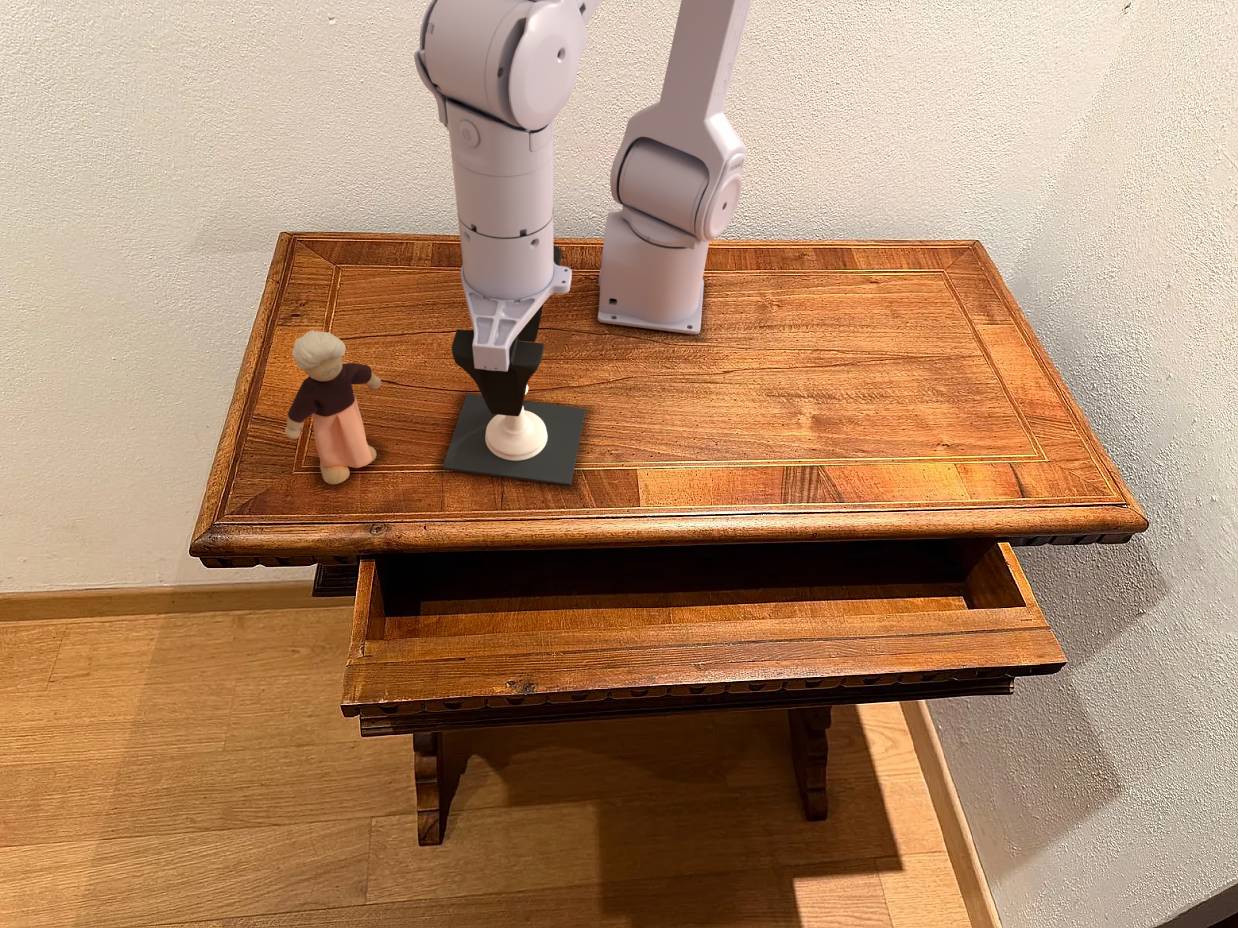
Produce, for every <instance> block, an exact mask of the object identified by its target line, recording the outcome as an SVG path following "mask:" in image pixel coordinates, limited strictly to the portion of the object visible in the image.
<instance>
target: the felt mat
mask: <svg viewBox="0 0 1238 928" xmlns="http://www.w3.org/2000/svg"><path fill="white" fill-rule="evenodd" d="M523 408H524V410H526V411H529V412H532V413H534V414H535V415H537V416H538V417H539V418H540V419H541V420H542V421H543V422H544V424H545V427H546V431H547V442H546V445H545V447H544V448H543V449H542V450H541V451H540V452H539V453H538V454H537V455H535V456H533V457H531V458H529V459H525V460H519V461H513V460H506V459H503V458H500V457H498V456H496V455H495V454H494V453H492V452H491V451H490V449H489V448H488V446H487V444H486V441H485V435H486V428H487V425H488V424H489V422H490V421H491V420H492V419H493V418H494V417H495V416H496V415H497V414H491V412H490V411H489V409H488V407H487V405H486V403H485V401H484V398H483V396H482V394H474V393H466V395H465V398H464V400H463V404H462V407H461V410H460V412H459V416H458V419H457V422H456V425H455V428H454V431H453V433H452V437H451V439H450V443H449V446H448V449H447V452H446V455H445V457H444V461H443V465H442V470H444V471H451V472H452V471H453V472H460V473H465V474H467V473H469V474H473V475H474V474H475V475H481V476H489V477H490V476H491V477H497V478H504V479H512V480H513V479H514V480H521V481H529V482H536V483H543V484H551V485H557V486H565V487H566V486H567V487H571V486H572V482H573V477H574V472H575V468H576V467H575V466H576V461H577V457H578V452H579V446H580V441H581V435H582V430H583V425H584V420H585V416H586V415H585V414H586V408H582V407H576V406H575V407H574V406H566V405H560V404H551V403H543V402H535V401H528V400H524V402H523Z"/></svg>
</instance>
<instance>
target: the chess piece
mask: <svg viewBox="0 0 1238 928" xmlns="http://www.w3.org/2000/svg"><path fill="white" fill-rule="evenodd" d="M528 392H529V385H528V384H527V386H526V392H525V396H526V395H527V394H528ZM485 441H486V444H487V446H488V448H489V449H490V451H491V452H492V453H494V454H495V455H496V456H498V457H500V458H503V459H506V460H513V461H519V460H525V459H529V458H531V457H533V456H535V455H537V454H538V453H539V452H540V451H541V450H542V449H543V448H544V447H545V445H546V442H547V431H546V427H545V424H544V422H543V421H542V420H541V419H540V418H539V417H538V416H537V415H535V414H534V413H532V412H529V411H526V410H524V408H523V407H522V410H521V413H520V415H519V416H507V415H496V416H495V417H494V418H493V419H492V420H491V421H490V422H489V424H488V425H487V428H486V435H485Z"/></svg>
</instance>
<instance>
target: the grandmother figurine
mask: <svg viewBox="0 0 1238 928" xmlns="http://www.w3.org/2000/svg"><path fill="white" fill-rule="evenodd" d="M346 350H347V349H346V345H345V343H344V342H343V341H342V340H341V339H340V338H338V337H337V336H335V335H334V334H332V333H331V332H326V331H322V330H321V331H320V330H319V331H318V330H310V331H307V332H306V333H304V334H303V335H302V336H301V337H299V338H297V339H295V341H294V345H293V349H292V351H291V355H292V359H294V362H295V363H296V365H297V368H298V369H300V370H303V371H304V372H305V374H306V375H307V377H306V378H305V379H304V380H303V381H302V383H301V385H300V387H299V388H298V390H297V393H296V395H295V396H294V399H293V401H292V403H291V405H290V407H289V409H288V412H287V421H286V427H285V429H284V435H285V436H286V437H287V439H290V440H296V439H298V438H299V437H300V435H301V428H303V425H304V422H305V420H306V419H308V418H309V417H310V416H311V417H312V427H313V434H314V443H315V446H316V447H315V448H316V450H317V453H318V457H319V462H320V463H319V469H320V472H321V476H322V479H323V481H324V483H326V484H329V485H338V484H341V483H343V482H345V481H346V480H347V479H349V477H350V473H351V472H350V469H349V468H354V469H359V468H362V467H366V466H368V465H369V464H371V463H372V462H374V461H375V459H376V458H377V451H376V449H375V448H374V447H373V446H371V445H369V444H368V441H367V436H366V429H365V426H364V422H363V418H362V415H361V412H360V408H359V403H358V399H357V397H356V395H355V394H354V389H353V385H366V386H367V387H368V388H369V389H370V390H378V389H379V388H380V387H381V385H382V380H381V378H380V377H378V376H377V375H376V374H375V373H374V372H373V371H372V368H371V366H370V365H368V364H362V363H358V362H357V363H356V362H347V363H346V362H345V363H343V361H344V360H343V356H344V355H345V353H346Z"/></svg>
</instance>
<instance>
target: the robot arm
mask: <svg viewBox="0 0 1238 928" xmlns="http://www.w3.org/2000/svg"><path fill="white" fill-rule="evenodd" d="M602 1H603V0H431V1H430V2H429V4H428V6H427V8H426V10H425V12H424V15H423V18H422V22H421V26H420V33H419V48H418V50H416V51H415V52H414V54H413V57H414V58H413V59H414V64H415V67H416V71H417V74H418V76H419V79H420V80H421V82H422V84H423V85H424V86H425V88H427V90H428V91H429V92H430V93H431V94H432V95H433V97H434V98H435V102H436V105H437V112H438V121H439V123H441V124H443V126H444V127H445V128H446V130H447V131H448V137H449V147H450V153H451V164H452V173H453V182H454V192H455V202H456V210H457V211H456V213H457V220H458V222H457V223H458V230H459V231H458V232H459V241H460V249H461V250H460V251H461V259H462V265H461V268H460V278H461V279H460V280H461V287H462V290H463V294H464V298H465V302H466V305H467V311H468V314H469V319H470V322H471V325H472V330H471V329H470V330H469V329H460V328H459V329H456V330H455V334H454V338H453V340H452V344H451V352H452V358H453V361H454V364H456V365H457V366H458V367H459V368H461V369H462V370H464V371H465V373H467V374H468V375H469V376H470V377H471V379H472V380H473V381H474V384H475V385H476V387H477V388H478V390H479V392H480V393H481V394H480V395H482V396H483V398H484V401H485V403H486V405H487V407H488V409H489V411H490V412H491V414H497V415H507V416H519V415H520V413H521V410H522V407H523V402H524V401H525V397H526V395H525V392H526V386H527V385H528V383H529V381H530V379H531V378H532V376H533V375H534V374H535V373H536V372H537V371H538V369H539V367H540V365H541V362H542V360H543V355H544V349H545V345H546V344H545V343H543V342H536V339H537V337H538V334H539V330H540V325H541V319H542V314H543V308H544V303H546V301H547V300H548V299H549V298H550V296H552V295H554V294H557V295H564V294H568V293H569V292H570V290H571V285H572V280H573V270H572V268H570V267H568V266H565V265H561V262H562V256H563V255H562V254H563V253H562V250H561V248H559V247H558V246H556V245H555V244H554V239H555V238H554V236H555V235H554V231H555V230H554V229H555V228H554V160H555V159H554V150H555V149H554V146H555V145H554V141H555V138H554V135H555V134H554V133H555V132H554V131H555V129H554V126H555V124H554V123H555V122H554V120H555V119H556V117H557V116H558V115H559V114H560V112H561V111H562V109H563V108H564V107H565V106H566V105H567V104H568V101H569V99H570V97H571V95H572V92H573V89H574V86H575V84H576V80H577V75H578V70H579V64H580V60H581V57H582V55H583V53H584V52H585V49H586V48H587V42H588V40H589V37H590V34H589V32H588V30H587V25H588V23H589V22H590V21H591V19H592V17H593V16H594V15H595V12H596V11H597V9H598V8H599V7H600V5H601V3H602ZM752 4H753V0H680V5H679V10H678V15H677V19H676V24H675V29H674V34H673V39H672V43H671V48H670V52H669V57H668V61H667V65H666V71H665V75H664V80H663V84H662V89H661V93H660V98H659V101H657V102H656V103H653V104H651V105H648V106H647V107H644V108H642V109H640V110H639V111H637V112H636V113H634V115H632V116H631V117H630V118H629V119H628V120H627V124H626V127H625V131H624V134H623V138H622V141H621V144H620V145H619V148H618V150H617V152H616V154H615V156H614V158H613V161H612V164H611V168H610V174H609V186H610V192H611V195H612V199H613V200H614V202H616V204H619V205H620V206H621V205H622V209H621V210H610V211H608V213H607V216H606V217H607V218H606V222H605V229H604V233H603V234H604V235H603V242H602V253H601V266H600V269H599V275H598V287H599V298H598V300H599V302H598V313H597V321H598V322H599V323H602V324H608V325H609V324H611V325H617V326H625V327H633V328H642V329H648V330H658V331H666V332H671V333H681V334H688V335H699V334H700V332H701V326H702V312H703V298H704V288H705V287H704V286H705V280H704V273H705V269H706V263H707V258H708V251H709V245H710V242H711V241H712V240H714V239H716V238H718V237H720V235H722V233H724V231H725V230H726V229H727V227H728V226H729V224H730V223H731V221H732V219H733V217H734V215H735V213H736V210H737V208H738V206H739V202H740V200H741V195H742V191H743V174H744V168H745V164H746V160H747V157H746V155H747V152H748V149H747V147H746V145H745V143H744V141H743V140H742V138H741V136H740V135H739V134H738V133H737V131H736V130H735V128H734V127H733V125H732V124H731V123H730V120H728V118H727V116H726V114H725V113H724V112H725V111H724V108H725V105H726V102H727V97H728V94H729V90H730V86H731V83H732V78H733V75H734V71H735V67H736V63H737V60H738V56H739V52H740V49H741V45H742V42H743V38H744V34H745V30H746V27H747V22H748V19H749V14H750V11H751V7H752Z"/></svg>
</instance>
